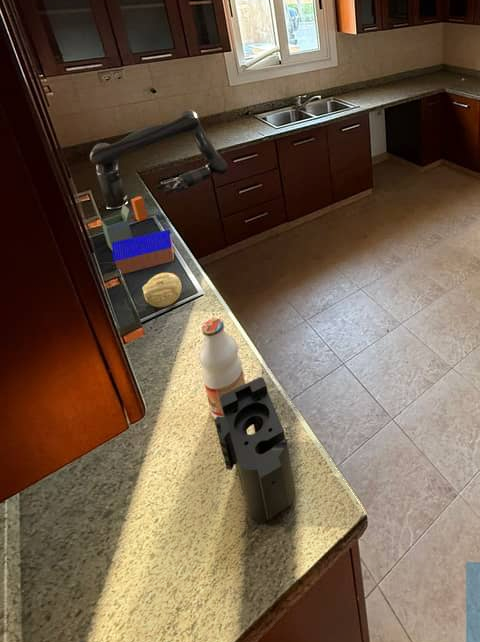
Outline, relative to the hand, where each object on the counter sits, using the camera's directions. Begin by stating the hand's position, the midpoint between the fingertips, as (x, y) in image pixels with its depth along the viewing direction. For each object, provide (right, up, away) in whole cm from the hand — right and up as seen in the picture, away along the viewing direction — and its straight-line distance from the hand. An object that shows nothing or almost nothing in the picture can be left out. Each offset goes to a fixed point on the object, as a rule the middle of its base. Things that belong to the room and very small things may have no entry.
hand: (160, 190), depth 212 cm
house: (+15, -25, -36) cm, 46 cm away
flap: (0, -6, -28) cm, 29 cm away
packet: (-6, -13, -5) cm, 15 cm away
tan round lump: (+35, -34, -58) cm, 76 cm away
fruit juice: (+73, -49, -97) cm, 131 cm away
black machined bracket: (+87, -56, -115) cm, 155 cm away
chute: (-3, -21, -26) cm, 34 cm away
